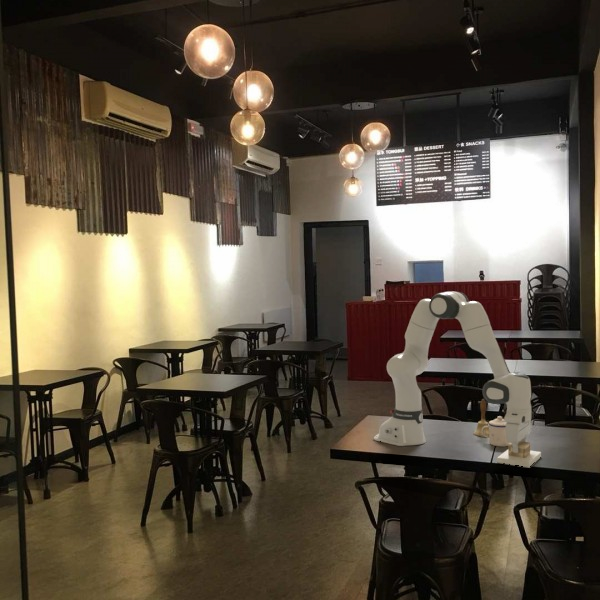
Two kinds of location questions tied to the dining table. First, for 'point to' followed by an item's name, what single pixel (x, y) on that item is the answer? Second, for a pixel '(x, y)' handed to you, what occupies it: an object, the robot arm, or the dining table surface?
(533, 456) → the post base
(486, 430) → the hand bell
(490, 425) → the teacup with lid
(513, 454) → the beige wooden block
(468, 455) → the dining table surface
